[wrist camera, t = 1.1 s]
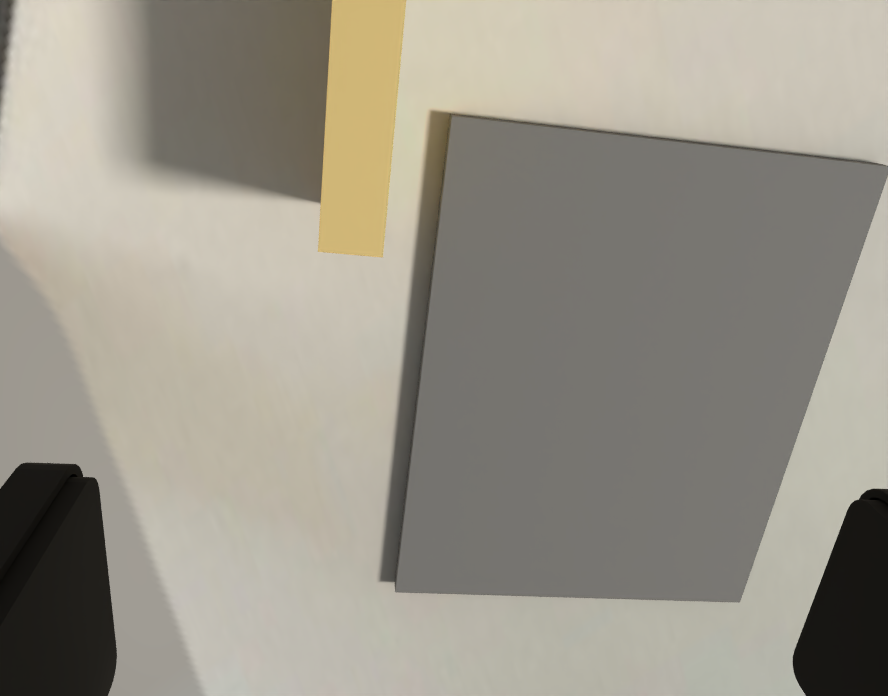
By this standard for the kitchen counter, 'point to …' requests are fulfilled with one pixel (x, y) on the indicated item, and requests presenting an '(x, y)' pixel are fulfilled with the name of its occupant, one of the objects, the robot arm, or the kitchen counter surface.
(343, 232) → the card deck
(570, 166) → the mat
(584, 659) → the kitchen counter surface
